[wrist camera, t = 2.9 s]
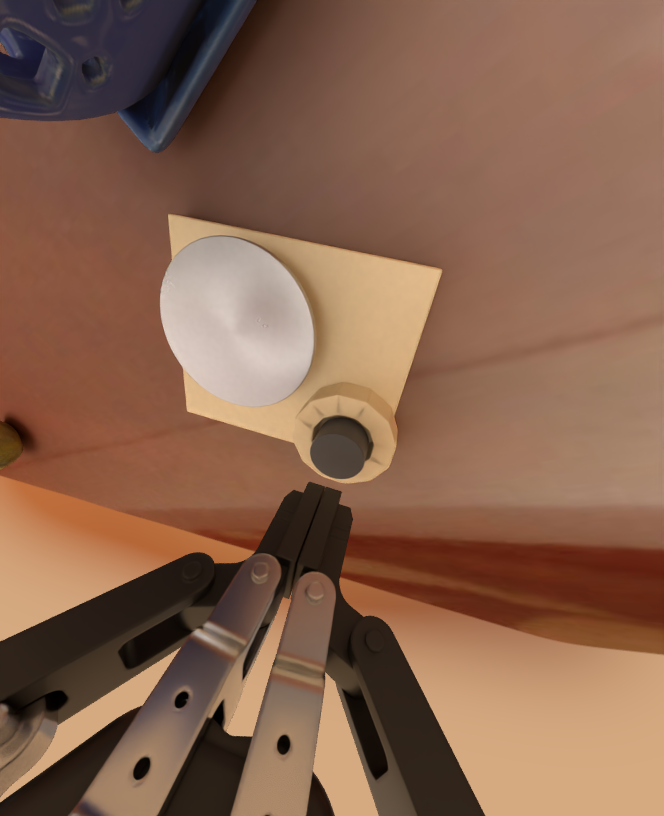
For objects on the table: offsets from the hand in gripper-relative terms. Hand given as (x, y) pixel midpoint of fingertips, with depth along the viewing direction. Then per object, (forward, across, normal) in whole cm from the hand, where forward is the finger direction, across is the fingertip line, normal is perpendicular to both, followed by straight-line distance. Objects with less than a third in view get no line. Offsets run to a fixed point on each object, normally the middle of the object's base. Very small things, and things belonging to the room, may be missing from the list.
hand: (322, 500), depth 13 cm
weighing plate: (+4, +7, -5) cm, 9 cm away
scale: (+8, +5, -3) cm, 9 cm away
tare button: (+5, 0, 0) cm, 5 cm away
